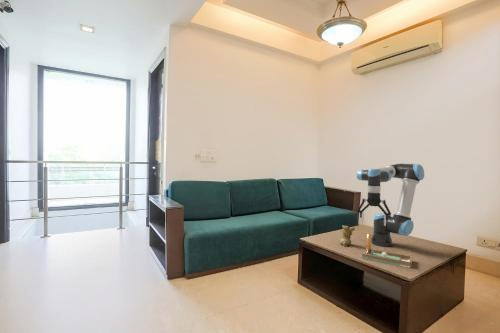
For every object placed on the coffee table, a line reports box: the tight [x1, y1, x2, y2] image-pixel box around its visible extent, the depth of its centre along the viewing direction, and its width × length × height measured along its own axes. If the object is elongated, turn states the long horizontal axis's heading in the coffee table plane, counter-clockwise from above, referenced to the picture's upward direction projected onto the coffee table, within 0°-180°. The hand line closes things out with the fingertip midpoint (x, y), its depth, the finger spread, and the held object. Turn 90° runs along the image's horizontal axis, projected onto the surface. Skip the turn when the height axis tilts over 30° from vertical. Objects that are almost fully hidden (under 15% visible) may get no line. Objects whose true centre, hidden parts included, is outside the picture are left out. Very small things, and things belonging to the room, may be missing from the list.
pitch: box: [361, 247, 413, 269], centre depth 174 cm, size 13×28×4 cm, turn 57°
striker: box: [364, 233, 374, 255], centre depth 180 cm, size 6×5×13 cm
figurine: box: [339, 224, 356, 247], centre depth 203 cm, size 10×9×15 cm
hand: (373, 224), depth 176 cm, fingers open, 13 cm apart
